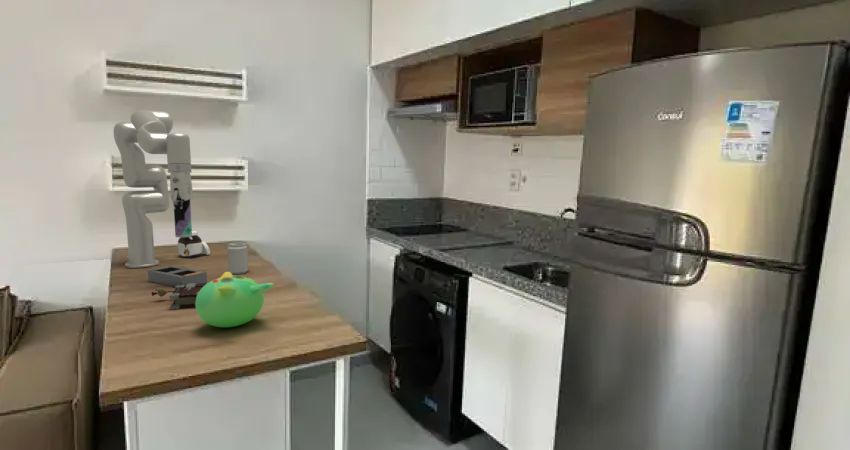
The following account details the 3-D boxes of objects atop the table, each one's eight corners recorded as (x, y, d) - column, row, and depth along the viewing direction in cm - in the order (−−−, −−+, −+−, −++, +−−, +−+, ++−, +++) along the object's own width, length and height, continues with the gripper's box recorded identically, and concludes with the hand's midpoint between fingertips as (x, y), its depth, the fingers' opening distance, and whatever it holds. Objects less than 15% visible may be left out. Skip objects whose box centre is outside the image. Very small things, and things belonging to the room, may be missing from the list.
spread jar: (175, 257, 227) (174, 232, 225) (193, 253, 238) (192, 229, 236) (197, 259, 223) (195, 234, 222) (214, 254, 234) (213, 230, 232)
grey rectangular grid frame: (148, 281, 184) (147, 270, 184) (173, 275, 193) (172, 265, 192) (182, 288, 175) (181, 276, 174) (207, 282, 183) (206, 271, 183)
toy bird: (245, 311, 150) (243, 264, 148) (278, 323, 140) (276, 273, 138) (186, 326, 136) (183, 275, 134) (217, 341, 126) (214, 285, 124)
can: (251, 270, 203) (250, 241, 201) (243, 274, 195) (241, 245, 194) (234, 270, 204) (232, 241, 202) (224, 274, 196) (223, 244, 195)
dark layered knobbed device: (233, 306, 157) (232, 290, 156) (144, 312, 149) (143, 296, 148) (235, 293, 170) (235, 279, 170) (154, 299, 163) (153, 284, 162)
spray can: (180, 238, 175) (176, 181, 172) (172, 236, 178) (169, 181, 176) (195, 236, 179) (192, 181, 177) (187, 234, 183) (184, 180, 180)
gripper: (183, 169, 168) (186, 222, 170) (197, 168, 185) (200, 216, 187) (159, 169, 167) (162, 222, 169) (176, 168, 183) (179, 216, 186)
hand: (182, 218), depth 178 cm, fingers closed on spray can, 5 cm apart
